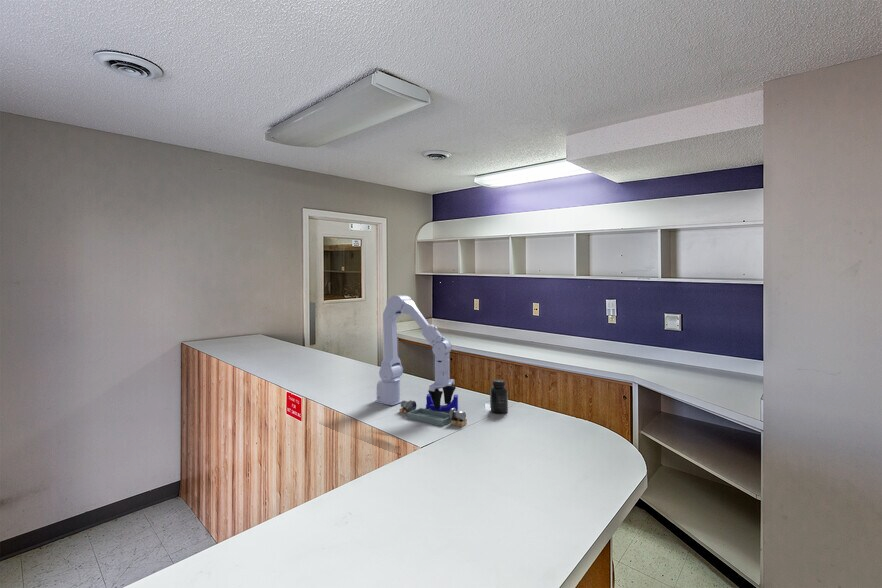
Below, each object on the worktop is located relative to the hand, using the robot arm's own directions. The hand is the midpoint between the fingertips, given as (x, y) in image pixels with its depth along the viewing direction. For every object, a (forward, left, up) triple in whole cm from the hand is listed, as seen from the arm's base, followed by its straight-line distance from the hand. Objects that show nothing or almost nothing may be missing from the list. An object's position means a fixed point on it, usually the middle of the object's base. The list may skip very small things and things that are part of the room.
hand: (442, 406), depth 160 cm
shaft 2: (+11, -10, -2) cm, 15 cm away
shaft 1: (-7, -10, -2) cm, 12 cm away
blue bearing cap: (0, 0, -2) cm, 2 cm away
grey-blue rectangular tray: (+2, -10, -2) cm, 10 cm away
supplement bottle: (+18, +13, -2) cm, 22 cm away
